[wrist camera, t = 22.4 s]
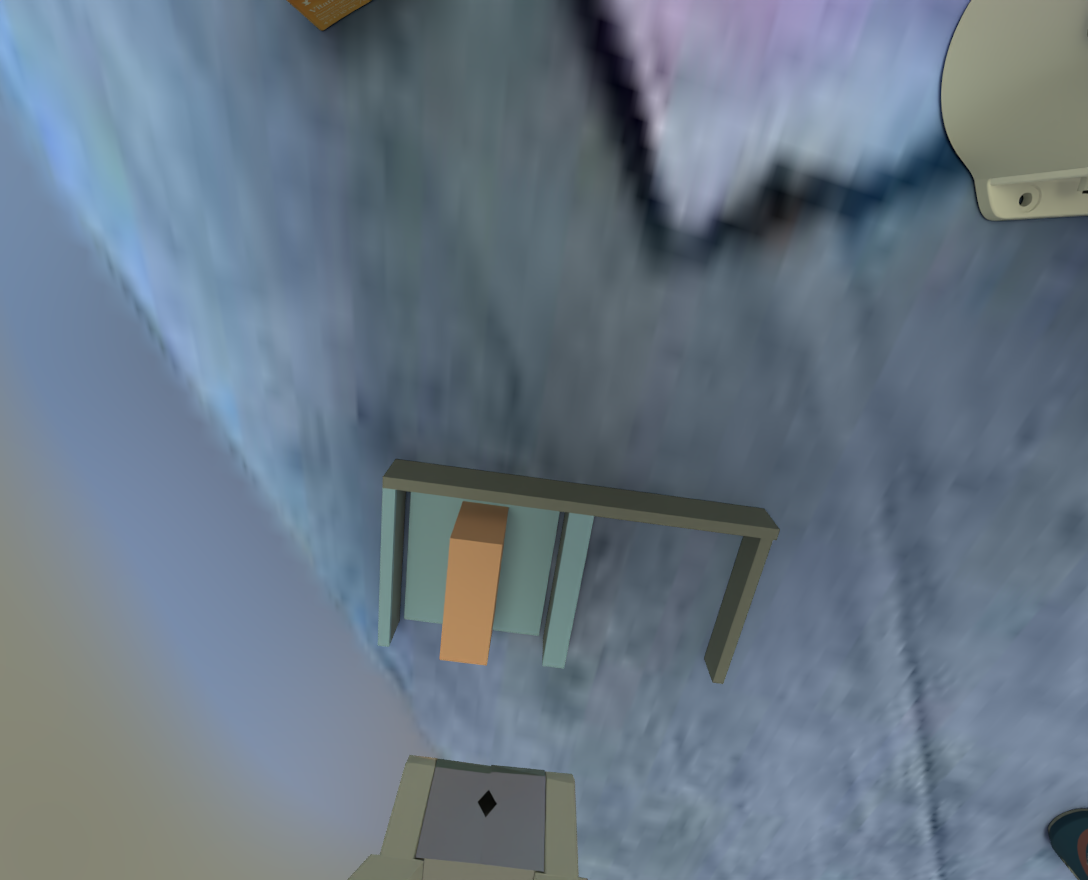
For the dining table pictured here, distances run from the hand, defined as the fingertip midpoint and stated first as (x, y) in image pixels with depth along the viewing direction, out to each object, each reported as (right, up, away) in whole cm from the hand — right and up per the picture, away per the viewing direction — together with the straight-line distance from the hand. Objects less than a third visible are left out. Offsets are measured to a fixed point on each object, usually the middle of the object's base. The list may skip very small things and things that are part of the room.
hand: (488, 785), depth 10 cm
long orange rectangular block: (-5, -5, +38) cm, 39 cm away
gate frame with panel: (+3, -6, +39) cm, 39 cm away
